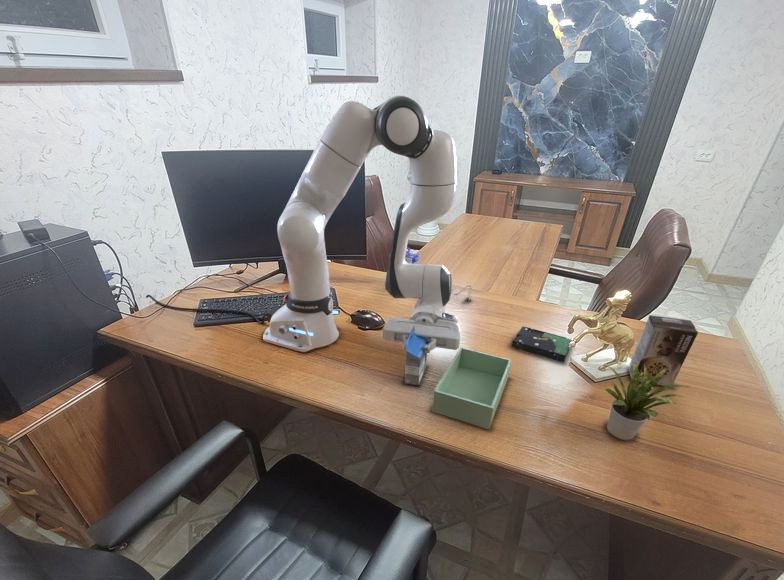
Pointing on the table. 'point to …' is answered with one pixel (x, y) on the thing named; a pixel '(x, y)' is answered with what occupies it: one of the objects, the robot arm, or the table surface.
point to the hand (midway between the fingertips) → (416, 349)
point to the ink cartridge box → (411, 257)
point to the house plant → (635, 403)
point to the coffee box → (663, 348)
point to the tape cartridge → (415, 358)
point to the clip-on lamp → (461, 291)
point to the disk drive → (542, 344)
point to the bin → (472, 387)
